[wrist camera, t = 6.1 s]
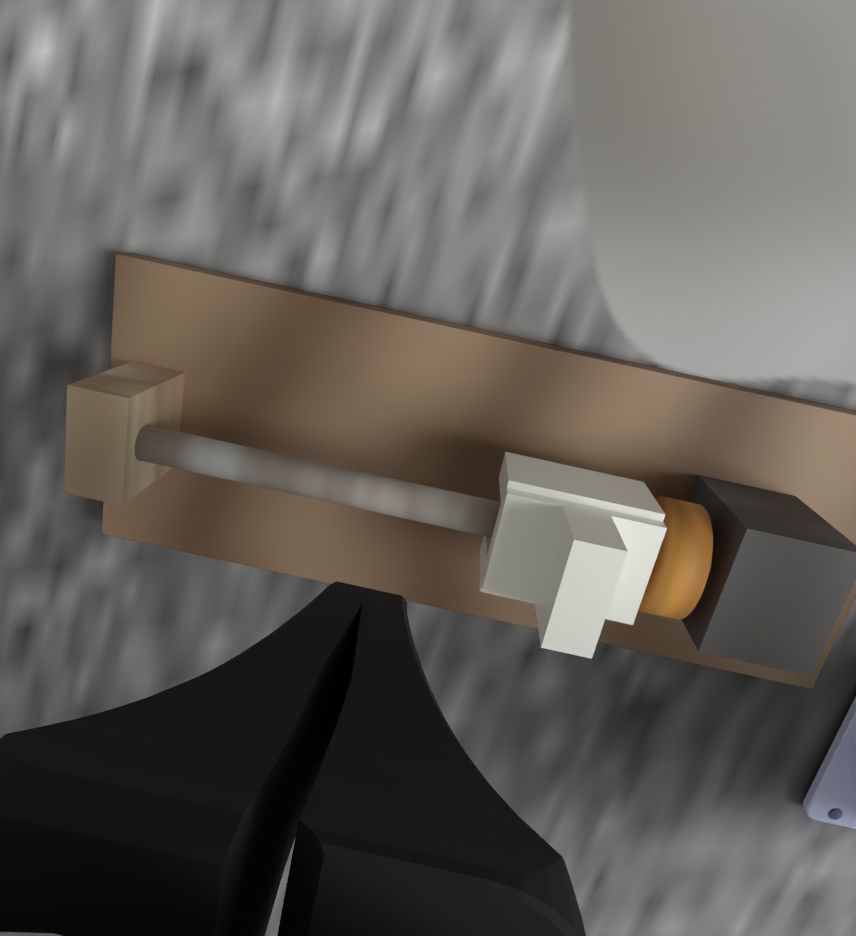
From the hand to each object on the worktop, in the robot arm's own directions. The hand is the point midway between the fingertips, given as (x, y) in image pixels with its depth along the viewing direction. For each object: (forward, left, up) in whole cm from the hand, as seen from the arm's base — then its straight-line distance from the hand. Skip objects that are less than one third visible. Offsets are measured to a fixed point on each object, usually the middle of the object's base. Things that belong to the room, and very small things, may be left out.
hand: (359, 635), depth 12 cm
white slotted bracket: (-5, 0, -8) cm, 9 cm away
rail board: (-2, 0, -10) cm, 11 cm away
